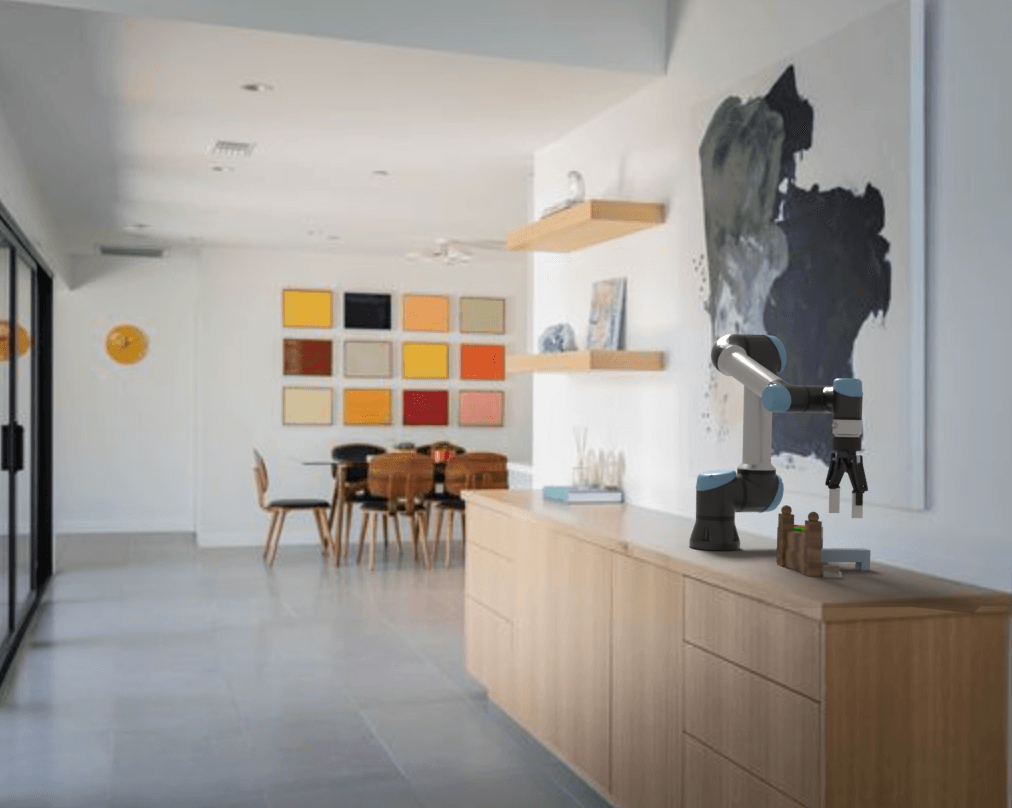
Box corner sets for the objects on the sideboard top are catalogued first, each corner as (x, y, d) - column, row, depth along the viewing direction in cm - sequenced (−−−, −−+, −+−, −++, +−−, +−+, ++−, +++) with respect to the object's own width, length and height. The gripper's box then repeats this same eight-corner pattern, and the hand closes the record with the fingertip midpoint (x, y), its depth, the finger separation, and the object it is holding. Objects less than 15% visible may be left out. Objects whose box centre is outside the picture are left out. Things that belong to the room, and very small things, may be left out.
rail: (807, 568, 312) (808, 548, 312) (863, 568, 315) (864, 548, 315) (813, 570, 308) (814, 550, 308) (870, 570, 311) (870, 550, 311)
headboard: (777, 564, 318) (778, 504, 318) (804, 564, 319) (805, 504, 319) (812, 577, 296) (813, 513, 296) (841, 577, 297) (843, 513, 297)
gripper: (813, 434, 323) (812, 510, 323) (855, 437, 299) (853, 520, 299) (839, 434, 324) (837, 510, 325) (882, 437, 300) (880, 520, 300)
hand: (845, 515), depth 312 cm, fingers open, 13 cm apart
